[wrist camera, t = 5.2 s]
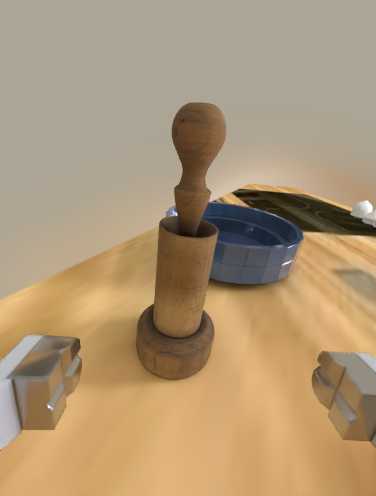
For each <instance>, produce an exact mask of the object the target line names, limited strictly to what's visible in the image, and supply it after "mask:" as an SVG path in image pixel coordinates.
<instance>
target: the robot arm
mask: <svg viewBox="0 0 376 496" xmlns="http://www.w3.org/2000/svg"><path fill="white" fill-rule="evenodd" d="M80 348H81V347H80V339H78V338H74V337H61V336H49V335H46V336H44V335H32V334H30V335H28V336H25V337H24V338H23V339H22V340H21V341H20V342H19V343H18V344H17V345H16V346H15V347H14V348H13V349H12V350H11V351H10V352H9V353H8V354H7V355H6V356H5V357H4V358H3V359H2V360H1V361H0V451H1V450H2V449H3V448H4V447H5V446H6V445H8V444H9V443H10V442H11V441H12V440H13V439H14V438H15V437H17V436H18V435H19V434H20V433H21V432H22V431H21V430H54V429H55V427H56V425H57V423H58V421H59V419H60V418H61V416H62V414H63V412H64V410H65V408H66V397H67V396H69V395H70V394H71V393H73V392H74V390H75V388H76V386H77V384H78V381H79V378H80V374H81V368H82V360H81V358H80V357H79V356H78V355H77V353H78V352H79V350H80ZM317 361H318V363H319V365H320V366H319V367H318V368H316V369H315V370H314V371H313V375H312V387H313V390H314V393H315V395H316V397H317V398H318V400H319V402H320V403H321V404H323V405H324V406H325V407H326V408H328V409H329V411H328V417H329V418H330V420H331V421H332V423H333V425H334V426H335V428H336V430H337V431H338V433H339V434H340V436H341V438H342V439H343V440H354V441H369V442H371V444H372V445H373V446H374V447H375V448H376V359H375V358H374V357H373V356H372V355H370V354H368V353H356V352H351V353H349V352H328V351H322V352H321V353H320V354H319V357H318V359H317Z"/></svg>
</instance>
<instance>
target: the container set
mask: <svg viewBox="0 0 376 496" xmlns="http://www.w3.org/2000/svg"><path fill="white" fill-rule="evenodd" d="M350 215H352V216H354V217H358V218H363V220H362V222H364V223H367V224H370V225H373V226H374V227H376V207H375V209H374V210H373V211H372V205H371V204H370V203H368V201H362V202H359V203H357V204H356V205H355V206H354V208H353V210H352V212H351V213H350Z"/></svg>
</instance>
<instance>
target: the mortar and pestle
mask: <svg viewBox="0 0 376 496" xmlns="http://www.w3.org/2000/svg"><path fill="white" fill-rule="evenodd" d="M225 137H226V123H225V119H224V116H223V114H222V112H221V110H220V109H219V108H218V107H217V106H216V105H214V104H209V103H188V104H186V105H184V106H183V107H182V108H181V109H180V110H179V111H178V113H177V114H176V116H175V118H174V121H173V125H172V139H173V143H174V145H175V148H176V150H177V153H178V156H179V159H180V161H181V163H182V167H183V174H182V178H181V181H180V183H179V185H177V186H176V187H175V188H174V194H175V203H176V209H177V214H178V216H171V217H166V218H163V219H162V220H161V221H160V223H159V238H158V257H157V272H156V287H155V299H154V304H153V305H151V306H149V307H148V308H147V309H146V310H145V311H144V312H143V313H142V314H141V316H140V318H139V321H138V325H137V352H138V356H139V358H140V360H141V362H142V363H143V365H144V366H145V367H146V368H147V369H148V370H150V371H151V372H152V373H154V374H156V375H158V376H161V377H164V378H169V379H182V378H187V377H189V376H192V375H194V374H195V373H197V372H198V371H199V370H200V369H202V367H203V366H204V365H205V364H206V362H207V360H208V358H209V355H210V352H211V347H212V343H213V338H214V325H213V322H212V320H211V318H210V317H209V315H208V314H207V313H206V312H205V311H204V310H203V307H204V301H205V296H206V291H207V286H208V281H209V276H210V271H211V266H212V261H213V256H214V251H215V246H216V241H217V236H218V229H217V227H216V226H215V225H213V224H211V223H210V222H207V221H205V220H202V219H201V218H202V216H203V214H204V211H205V209H206V207H207V204H208V202H209V198H210V195H211V191H210V190H209V189H208V188H207V187H206V183H205V176H206V173H207V170H208V168H209V166H210V165H211V163H212V162H213V160H214V159H215V157H216V156H217V154H218V153H219V151H220V150H221V148H222V146H223V144H224V141H225Z"/></svg>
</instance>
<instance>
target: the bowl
mask: <svg viewBox="0 0 376 496" xmlns="http://www.w3.org/2000/svg"><path fill="white" fill-rule="evenodd" d="M171 216H178V214H177V209H176V205H175V206H173V207H171V208H170V209H169V210H168V211H167V212H166V217H171ZM201 219H202V220H205V221H207V222H210V223H211V224H213V225H215V226H216V227H217V229H218V236H217V241H216V246H215V251H214V256H213V261H212V266H211V271H210V276H209V278H210V279H214V280H218V281H222V282H227V283H235V284H264V283H270V282H276V281H279V280H281V279H283V278H285V277H287V276H288V275H289V273H290V272H291V271H292V269H293V267H294V264H295V261H296V259H297V256H298V253H299V250H300V248H301V245H302V242H303V240H304V236H303V232H302V231H301V230H300V229H299V228H298V227H297V226H296V225H294V224H293V223H291V222H289V221H288V220H286V219H283V218H281V217H279V216H277V215H274V214H271V213H268V212H265V211H262V210H258V209H255V208H250V207H246V206H241V205H236V204H229V203H220V202H208V204H207V207H206V209H205V211H204V214H203V216H202V218H201Z"/></svg>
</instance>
